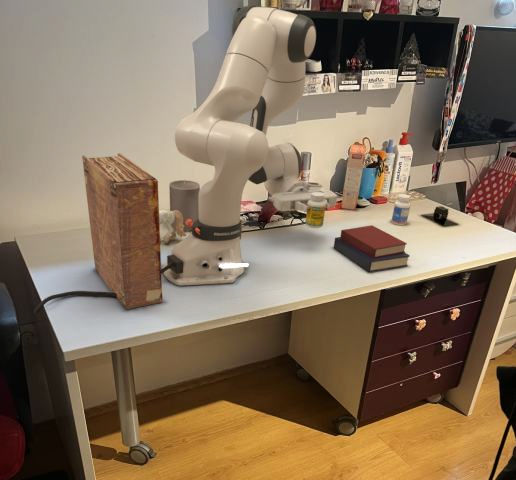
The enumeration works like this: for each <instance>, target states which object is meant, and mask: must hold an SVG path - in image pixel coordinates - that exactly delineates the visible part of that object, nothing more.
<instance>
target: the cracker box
mask: <svg viewBox="0 0 516 480" xmlns="http://www.w3.org/2000/svg"><path fill="white" fill-rule="evenodd" d="M366 149H367V146H366V145H362V144H351V145H350V149H349V152H348V159H347V165H346V171H345V178H344V184H343V190H342V197H341V205H340V209H343V210H352V211H356V209H357V205H358V200H359V199H358V198H359V194H360V189H361V183H362V177H363V173H364V172H363V171H364V166H365V159H366V151H367V150H366Z"/></svg>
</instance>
